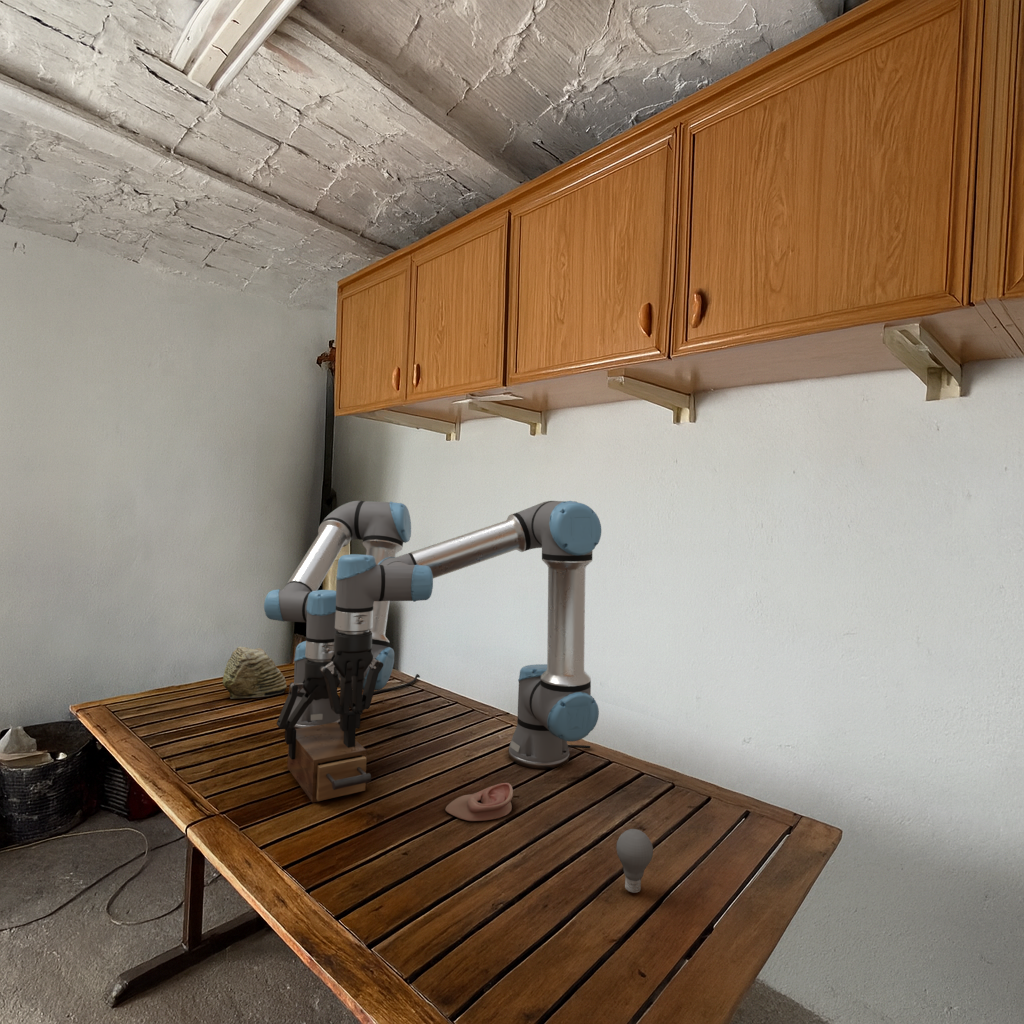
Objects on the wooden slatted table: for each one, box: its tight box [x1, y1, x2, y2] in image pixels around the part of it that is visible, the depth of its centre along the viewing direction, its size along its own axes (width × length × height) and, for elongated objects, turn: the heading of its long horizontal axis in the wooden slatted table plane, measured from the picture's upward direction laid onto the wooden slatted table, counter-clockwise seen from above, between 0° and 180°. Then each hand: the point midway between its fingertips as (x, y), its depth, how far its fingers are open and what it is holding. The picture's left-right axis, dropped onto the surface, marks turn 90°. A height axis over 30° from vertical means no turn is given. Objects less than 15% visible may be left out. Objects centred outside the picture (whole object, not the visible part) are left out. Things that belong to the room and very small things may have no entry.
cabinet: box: [287, 722, 367, 803], centre depth 142 cm, size 19×11×9 cm, turn 34°
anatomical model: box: [444, 782, 514, 822], centre depth 131 cm, size 13×4×12 cm
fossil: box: [222, 646, 288, 699], centre depth 198 cm, size 9×18×15 cm, turn 132°
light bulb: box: [615, 828, 654, 894], centre depth 106 cm, size 6×6×10 cm
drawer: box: [316, 756, 372, 802], centre depth 137 cm, size 24×10×7 cm, turn 34°
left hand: (318, 752), depth 146 cm, fingers closed on cabinet, 11 cm apart
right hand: (349, 744), depth 130 cm, fingers closed
